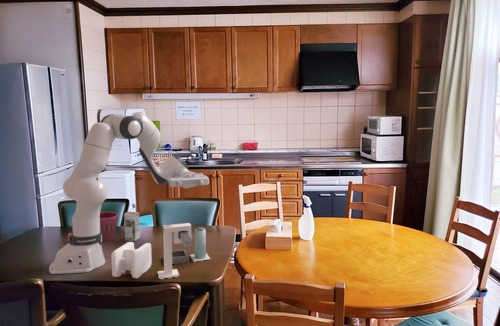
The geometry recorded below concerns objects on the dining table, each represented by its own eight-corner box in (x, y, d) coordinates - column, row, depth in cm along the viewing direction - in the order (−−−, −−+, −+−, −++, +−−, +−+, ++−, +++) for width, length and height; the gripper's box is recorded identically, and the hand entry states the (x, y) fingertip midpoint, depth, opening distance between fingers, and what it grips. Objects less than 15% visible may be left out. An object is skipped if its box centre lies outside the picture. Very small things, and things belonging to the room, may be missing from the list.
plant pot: (109, 243, 191) (108, 219, 190) (84, 242, 194) (83, 218, 192) (123, 234, 205) (122, 212, 204) (99, 233, 208) (98, 211, 206)
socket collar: (168, 265, 166) (168, 258, 165) (165, 257, 174) (165, 251, 174) (188, 262, 169) (188, 256, 168) (185, 255, 177) (185, 249, 177)
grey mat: (193, 262, 169) (193, 261, 169) (190, 256, 176) (190, 254, 176) (210, 260, 171) (210, 258, 171) (206, 254, 179) (206, 252, 179)
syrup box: (124, 240, 197) (123, 213, 195) (130, 236, 202) (129, 210, 200) (134, 241, 195) (133, 214, 193) (140, 237, 201) (139, 211, 199)
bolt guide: (159, 279, 151) (158, 229, 148) (157, 273, 157) (156, 225, 154) (192, 275, 156) (191, 226, 153) (189, 269, 161) (189, 222, 158)
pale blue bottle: (196, 259, 171) (196, 230, 169) (193, 255, 175) (193, 227, 173) (206, 258, 172) (206, 229, 171) (204, 254, 177) (204, 226, 175)
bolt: (183, 249, 142) (182, 239, 141) (174, 232, 162) (174, 223, 161) (193, 248, 143) (193, 238, 143) (183, 231, 163) (183, 223, 162)
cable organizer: (134, 282, 149) (133, 254, 147) (110, 279, 151) (109, 252, 149) (152, 267, 163) (151, 241, 162) (130, 265, 165) (129, 239, 164)
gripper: (166, 174, 193) (170, 179, 180) (205, 172, 200) (211, 177, 187) (166, 186, 194) (170, 192, 181) (205, 184, 201) (211, 189, 188)
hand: (191, 184), depth 184 cm, fingers open, 8 cm apart
